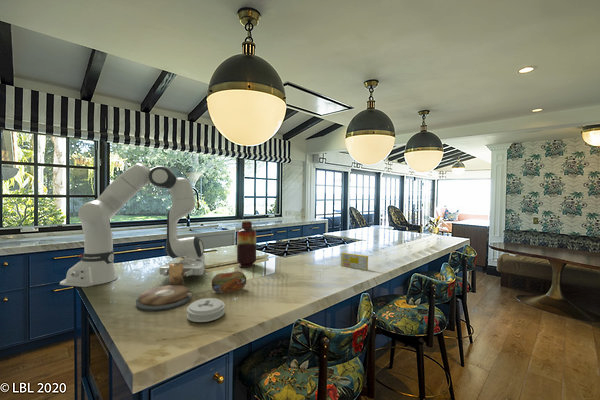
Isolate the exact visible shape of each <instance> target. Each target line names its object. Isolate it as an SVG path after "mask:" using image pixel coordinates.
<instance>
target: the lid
mask: <svg viewBox="0 0 600 400" xmlns="http://www.w3.org/2000/svg"><path fill="white" fill-rule="evenodd" d="M225 305H226V304H225V303H224V301H222V300H220V299H219V298H212V297H211V298H210V297H209V298H208V297H207V298H201V299H197V300H195V301H193V302H191V303H190V304H189V305H188V306H187V307H186V311H187V314H186V318H187V319H188V320H189V321H191V322H194V323H195V322H196V323H206V322H210V321H214V320H218V319H220V318H221V317H222V316H224V315H225Z"/></svg>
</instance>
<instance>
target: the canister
mask: <svg viewBox="0 0 600 400" xmlns="http://www.w3.org/2000/svg"><path fill="white" fill-rule="evenodd" d="M168 264H169V275H168V286H169V285H179V286H184V275H183V263H179V262H174V263H173V262H172V263H168Z"/></svg>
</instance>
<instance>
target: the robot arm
mask: <svg viewBox="0 0 600 400" xmlns="http://www.w3.org/2000/svg"><path fill="white" fill-rule="evenodd" d="M149 184H151V185H153V186H154V187H155V188H159V189H161V188H162V189H168V191H169V192H170V195H171V196H170V197H171V209H169V210H168V211H167V214H166V215H167V217H166V245H165V253H166V255H167V256H168V257H170V258H172V259H178V258H181V257H182V259H180V261H179V262H178V263H183V277H189V276H201V275H203V274H204V273H205V266H206V265H205V260H206V257H205V254H204V252H205V247H204V242H203V241H202V240H201V239H200V237H198V236H190V237H189V236H188V237H184V238H183V237H182V238H178V222H179V221H180V219H182V218H184V217H186V216H188V215H189V214H191V213H192V212H193V211H194V209H195V208H196V201H195V194H194V191H193V187H192V184H191V181H190V180H189V178H186V177H176V175H175V174H174V173H173V171H172V170H171V169H170V168H169V167H167V166H164V165H157V166H154V167H152V168H149V167H147V165H144V164H143V163H136V164H134V165H132V166H130V167H129V168H127V169H126V170H125V171H123V172H121V174H120V175H118V177H116V178H115V179H114V180H113V181H112V182H111V183H110V184H108V186H107V187H106V188H105V189H104V190H103V191H102V193H101V194H100V195H99V196H98V197H97V198H95V200H91V201H87V202H85V203H83V204H82V205H81V206H80V208H79V209H78V211H77V214H78V219H79V220H80V223H81V227H82V228H81V229H82V232H83V241H84V252H83V253H82V254H78V258H81V259H80V261H78V262H77V263H76V264H74V265H72V267H69V269H68V270H67V272H66V277H65V279H63V280H61V281H59V285H60V286H69V287H79V288H87V287H92V286H97V285H102V284H107V283H109V282H113V281H115V280H116V279H118V276H117V274H116V270H115V269H116V268H115V264H114V263H115V262H114V259H115V251H114V247H113V244H114V242H113V236H114V235H113V232H112V228H111V224H110V223H111V221H110V220H111V219H112V218H113V217H115V216H116V215H117V213H118V212H119V211H121V209H122V208H123V207H124V206H125V205H127V203H128V202H129V201H130V200H131V199H132V198H133V197H134V196H135V195H136V194H137V193H138V192H139V191H140V190H142V189H143V188H144V187H145V186H146V185H149ZM183 257H184V258H183ZM169 264H170V263H167V264H164V265H162V266H159V275H162V276H163V277H169Z"/></svg>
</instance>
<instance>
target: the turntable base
mask: <svg viewBox="0 0 600 400" xmlns="http://www.w3.org/2000/svg"><path fill="white" fill-rule="evenodd" d="M189 293H192V291H191V290H190V289H189ZM192 297H193V296H192V295H191V296H187V297H186V298H185V299H183V300H181V301H178V302H175V303H172V304H167V305H160V306H149V305H143V304H141V303H140V302H139V297H137V298H136V299H135V306H136V308H137V309H138V310H139V311H140V310H141V311H143V312H144V311H145V312H160V311H167V310H172V309H175V308H179V307H181V306H184V305H185V304H187V303H189V302H190V301H191V300H192Z"/></svg>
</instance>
